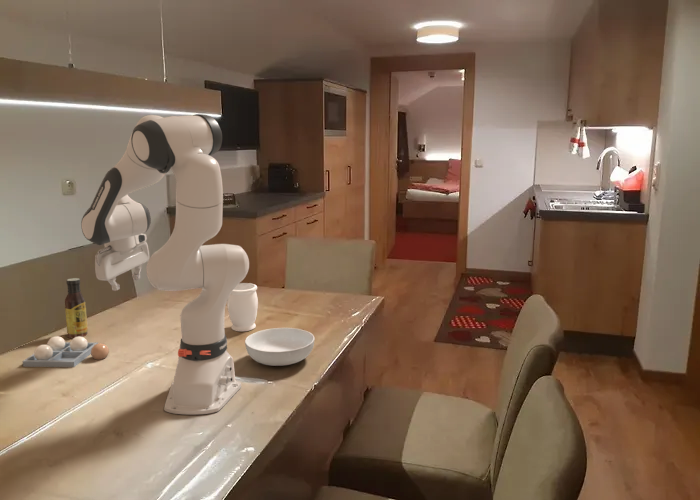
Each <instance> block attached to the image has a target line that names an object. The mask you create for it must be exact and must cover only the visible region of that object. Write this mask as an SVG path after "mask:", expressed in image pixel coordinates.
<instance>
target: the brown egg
mask: <svg viewBox="0 0 700 500" xmlns="http://www.w3.org/2000/svg"><path fill="white" fill-rule="evenodd" d="M109 353H110V349H109V347H108V345H106V344H105V343H101V342H100V343H99V342H98V344H96V345H94V346H93V347H92V349H91V354H90V356H91V357H92V358H93V359H94V360H96V361H99V360H104V359H106V358H107V357H108V356H109Z"/></svg>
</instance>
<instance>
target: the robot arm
mask: <svg viewBox="0 0 700 500" xmlns="http://www.w3.org/2000/svg"><path fill="white" fill-rule="evenodd" d="M222 143H223V133H222V130H221V127H220V125H219V123H218V121H217V120H216V119H215V118H214V117H212V116H211V115H208V114H203V113H202V114H200V113H198V114H195V113H194V114H193V115H191V114H190V115H172V116H171V115H170V116H165V117H163V116H161V115H158V114H157V115H156V114H148V115H145V116H142V117H141V118H140V119H139V120H138V121H137V123H136V125H135V126H134V128H133V129H132V131H131V135H130V137H129V139H128V143H127V146H126V149H125V152H124V153H123V155H122V157H121V158H120V159H119V161H118V162H117V163H116V164H115V165H113V167H111V168H110V169H109V170H108V171H107V172H106V174H105V175H104V178H103V179H102V181H101V183H100V185H99V187H98V189H97V192H96V194H95V195H94V198H93V200H92V202H91V204H90V206H89V208H88V209H86V211H85V213H84V214H83V216H82V218H81V223H80V225H81V231H82V235H83V236H84V238H85V239H86V240H88V241H89V242H90V243H92V244H95V245H97V246H103V245H104V247H103V248H100V249H98V250H97V252H96V254H95V256H94V257H95V258H94V259H95V260H94V268H95V269H94V270H95V271H94V272H95V276H96V279H97V280H98V281H105V282H108V283H109V284H110V286H111V290H112V291H114V292H117V291H118V290H120V289H121V287H120V283H118V282H116V280H117V277H118V276H120V275H122V274H125V273H127V272H128V271H130V270H133V269H134V270H133V274H132V275H131V277H132V279H133V280H134V281H138V280H140V279H141V271H142V267H143V264H145V263H147V264H146V277H147V279H148V281H149V283H150V284H151V286H153V288H155V289H156V290H159V291H169V292H170V291H171V292H178V291H187V290H194V289H201V291H200V293H199V295H197V296H196V297H195V298H194V299H192V300H191V301H190V302H188V303H187V304H185V306H184V307H183V308H182V309H181V312H180V315H179V316H180V329H181V338H180V343H179V349H178V350H177V356H178V358H177V359H178V360H177V365H176V368H175V374H174V377H173V378H174V379H173V381H172V383H171V385H170V389H169V392H168V394H167V397H166V400H165V402H164V407H163V410H164V411H165V412H167V413H170V414H173V415H174V414H176V415H187V416H189V415H191V416H192V415H196V416H197V415H206V414H207V415H208V414H213V413H216V412H217V413H218V412H220V411H221V409H222V408H223V407H224V406H225V405H226V404H227V403H228V402H229V401H230V400H231V398H233V396H234V395H236V394H237V393H238V391H239V390H240V389H241V388H242V383H241V381H239V380H236V375H235V374H236V373H235V364H234V358H233V356H232V355H230V353H229V352H228V351H227V349H228V338H227V334H225V333H226V332H225V313H226V312H225V311H226V305H227V300H228V298H229V296H230V294H231V292H232V291H233V289H234V288H235V287H236V286H237V285H238V284H239V283H242V281H243V280H244V279H245V278H246V276H247V275H248V272H249V269H250V259H249V256H248V254H247V252H246V251H245V249H243V247H242V246H241V245H237V244H229V243H215V244H214V243H213V244H205V243H206V242H207V241H209V240H211V239H213V238H214V237H216V236H217V235H218V233H219V232H220V231H221V228H222V226H223V207H224V206H223V205H224V189H223V188H224V187H223V185H224V184H223V178H222V172H221V167H220V164H219V162H218V160H217V159H216V158H214V157H213V156H212V155H214V154H216V153H217V152H218V151H219V150H220V149H221V147H222ZM169 171H171V172H172V174H173V176H174V178H175V184H176V185H175V219H174V222H175V223H174V226H173V227H174V228H173V230H172V233H171V235H170V237H169V238H168V240H167V241H166V242H165V243H164V244H163V245H162V246H161V247H160V248H159V249H158V250H156V251H154V252H153V253H152V254H151V256H150V250H149V245H148V243H147V240H148V238H147V234H146V233H147V231H148V230H149V228H150V227H151V223H152V222H151V221H152V219H151V212H150V210H149V208H148V207H147V206H146V205H144V204H143V203H141V202H137V201H135V200H134V199H132V198H131V197H130V196H129V194H131V193H134V192H136V191H137V192H138V191H140V190H142V189H146V188H149V187H152V186H153V185H155V184H157V183H159V182H160V181H161V180H162V179H163V178H164V177H165V175H166V174H167V173H168V172H169ZM204 244H205V245H204Z"/></svg>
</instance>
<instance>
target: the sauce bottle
mask: <svg viewBox="0 0 700 500" xmlns="http://www.w3.org/2000/svg"><path fill="white" fill-rule="evenodd" d="M66 285H67V294H66V297H65V299H64V303H65V304H64V305H65V306H64V311H65V321H66V333H67V337H68V338H69V339H73V338H75V337H78V336H81V337H84V338H85V337H86V336H88V331H89V329H88V317H87V305H86V300H85V298H84V296H83V294H82V292H81V279H80V278H78V277H73V278H67V279H66Z"/></svg>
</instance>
